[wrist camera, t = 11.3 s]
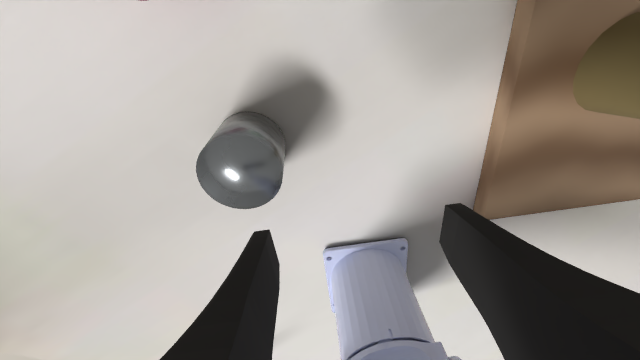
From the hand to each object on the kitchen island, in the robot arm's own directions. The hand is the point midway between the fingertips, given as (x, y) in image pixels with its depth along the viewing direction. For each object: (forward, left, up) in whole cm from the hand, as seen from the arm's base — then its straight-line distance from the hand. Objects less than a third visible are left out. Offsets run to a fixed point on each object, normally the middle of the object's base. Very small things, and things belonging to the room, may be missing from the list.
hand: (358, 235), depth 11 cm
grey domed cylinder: (0, +6, -11) cm, 12 cm away
